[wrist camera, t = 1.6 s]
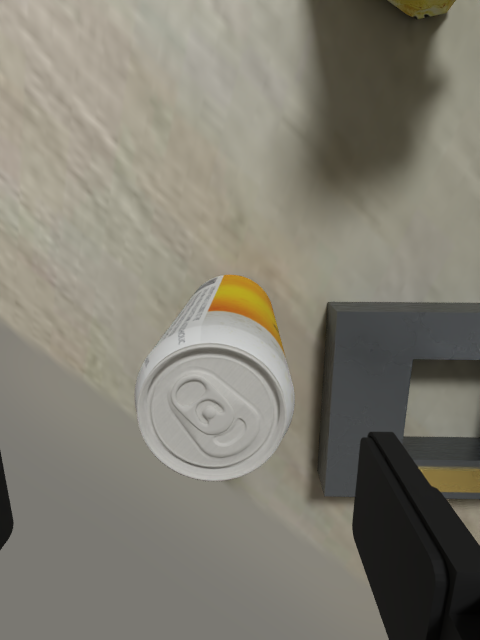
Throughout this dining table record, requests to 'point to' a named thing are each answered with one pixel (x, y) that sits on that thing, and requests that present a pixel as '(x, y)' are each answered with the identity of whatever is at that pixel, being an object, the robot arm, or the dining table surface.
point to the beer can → (217, 384)
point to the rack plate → (392, 388)
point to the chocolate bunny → (423, 7)
